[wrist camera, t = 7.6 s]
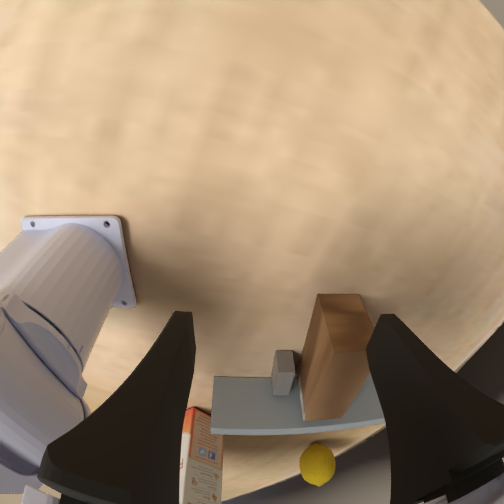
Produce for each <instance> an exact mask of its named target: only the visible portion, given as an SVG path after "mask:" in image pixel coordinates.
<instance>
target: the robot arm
mask: <svg viewBox="0 0 504 504" xmlns="http://www.w3.org/2000/svg"><path fill="white" fill-rule="evenodd" d="M105 221H108V222H109V223H110V225H107V224H106V222H105ZM33 222H34V223H35V224H34V223H33ZM21 227H22V232H21V233H20V234H19V235H18V236H16V237H15V238H14V239H13V240H12V241H11V242H10V243H9V244H8V245H7V246H6V247H5V248H4V249H3V250H2V251H1V252H0V494H23V497H22V502H21V504H179V483H180V458H181V443H182V431H183V424H184V418H185V413H186V408H187V403H188V398H189V393H190V388H191V383H192V379H193V374H194V364H195V353H196V345H195V336H194V327H193V317H192V312H181V311H175V312H174V313H173V314H172V316H171V318H170V319H169V321H168V323H167V324H166V326H165V328H164V329H163V331H162V332H161V334H160V335H159V337H158V338H157V340H156V341H155V343H154V344H153V346H152V347H151V349H150V350H149V351H148V353H147V354H146V356H145V357H144V358H143V359H142V361H141V362H140V363H139V365H138V366H137V367H136V368H135V370H134V371H133V372H132V373H131V375H130V376H129V377H128V378H127V379H126V380H125V381H124V383H123V384H122V385H121V386H120V387H119V388H118V389H117V390H116V391H115V392H114V393H113V394H112V395H111V396H110V397H109V398H108V399H107V400H106V401H105V402H104V403H103V404H102V405H101V406H100V407H99V408H97V409H96V410H95V411H94V412H93V413H92V414H91V412H90V409H89V407H88V405H87V404H86V402H85V401H84V400H83V399H82V398H83V395H84V392H85V390H86V387H87V383H86V382H85V381H84V379H83V377H82V372H83V370H84V367H85V365H86V362H87V360H88V358H89V355H90V353H91V351H92V348H93V346H94V344H95V341H96V339H97V337H98V334H99V332H100V330H101V328H102V326H103V323H104V321H105V319H106V317H107V315H108V313H109V310H110V308H111V306H117V307H127V308H133V307H135V305H136V297H135V293H134V288H133V284H132V279H131V274H130V269H129V264H128V259H127V254H126V248H125V243H124V237H123V231H122V224H121V220H120V219H119V218H118V217H117V216H30V217H23V218H22V219H21ZM124 301H125V302H124ZM366 354H367V360H368V365H369V370H370V373H371V377H372V380H373V383H374V386H375V389H376V392H377V395H378V398H379V402H380V405H381V408H382V411H383V415H384V419H385V423H386V428H387V434H388V441H389V449H390V459H391V500H390V504H418V503H421V502H424V504H504V462H503V461H502V458H503V457H504V405H503V404H501V403H499V402H498V401H496V400H494V399H492V398H490V397H488V396H487V395H485V394H483V393H482V392H481V391H479V390H478V389H476V388H474V387H473V386H471V385H470V384H469V383H468V382H466V381H465V380H464V379H462V378H461V377H460V376H459V375H457V374H456V373H455V372H454V371H452V370H451V369H450V368H449V367H448V366H447V365H446V364H445V363H443V362H442V361H441V360H440V359H439V358H438V357H437V356H436V355H435V354H434V353H433V352H432V351H431V350H430V349H429V348H428V347H427V346H426V345H425V344H424V343H423V342H422V341H421V340H420V339H419V338H418V337H417V336H416V335H415V334H414V333H413V332H412V331H411V330H410V329H409V328H408V327H407V326H406V325H405V324H404V323H403V322H402V321H401V320H400V319H399V318H398V317H397V316H396V315H395V314H381V316H380V318H379V320H378V322H377V325H376V327H375V329H374V331H373V334H372V336H371V338H370V340H369V342H368V344H367V346H366ZM43 484H45V485H47V486H49V487H50V488H52V489H54V490H56V491H58V492H60V493H62V494H61V499H58V498H56V497H54V496H52V495H49V494H47V493H45V492H43V491H40V490H38V489H39V488H40V487H41V486H42V485H43Z"/></svg>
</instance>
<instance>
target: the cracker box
mask: <svg viewBox="0 0 504 504" xmlns="http://www.w3.org/2000/svg"><path fill="white" fill-rule="evenodd" d="M210 426H211V416H210V415H208V414H206V413H204V412H202V411H200V410H198V409H196V408H194V407H193V408H190V409H188V410H186V413H185V418H184V424H183V431H182V443H181V458H180V483H179V504H221V492H222V468H223V446H224V435H223V434H211V428H210Z"/></svg>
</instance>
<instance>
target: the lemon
mask: <svg viewBox="0 0 504 504" xmlns="http://www.w3.org/2000/svg"><path fill="white" fill-rule="evenodd" d="M300 471H301V474H302V476H303V478H304V479H305V480H306V481H307V482H309V483H311V484H314V485H317V486H322V485H323V484H324V483H326V482H327V481H328V480H330V479H331V477H332V476H333V474H334V471H335V459H334V455H333V453H332V452H331V450H330V449H328V448H327V447H325V446H322V445H319V444H317V443H313V444H312V445H311V447H309V448H307V449H306V450H305V451H304V452H303V453H302V455H301V457H300Z"/></svg>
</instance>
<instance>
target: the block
mask: <svg viewBox="0 0 504 504" xmlns="http://www.w3.org/2000/svg"><path fill="white" fill-rule="evenodd" d="M373 331H374V328H373V326H372V324H371V321H370V319H369V317H368V314H367V312H366V310H365V308H364V305H363V303H362V301H361V299H360V296H359V294H317V298H316V302H315V306H314V310H313V314H312V318H311V322H310V326H309V330H308V333H307V337H306V341H305V344H304V348H303V352H302V355H301V359H300V362H299V366H297V370H296V374H297V380H298V387H299V394H300V401H301V409H302V416H303V421H315V420H327V419H336V418H342V417H343V415H344V414H345V412H346V411H347V409H348V408H349V406H350V404H351V403H352V401H353V400H354V398H355V396H356V395H357V393H358V391H359V390H360V388H361V386H362V385H363V383H364V381H365V380H366V378H367V376H368V374H369V373H370V370H369V365H368V360H367V354H366V346H367V344H368V342H369V340H370V338H371V336H372V334H373Z"/></svg>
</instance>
